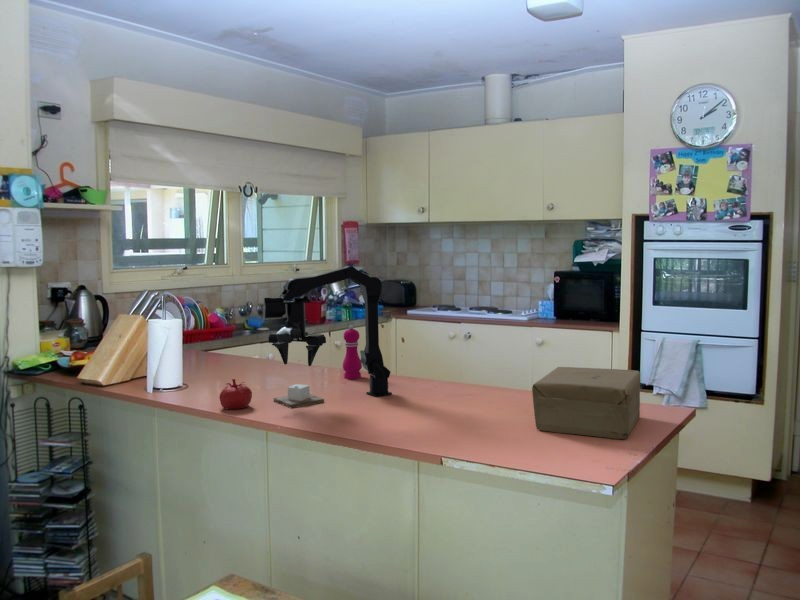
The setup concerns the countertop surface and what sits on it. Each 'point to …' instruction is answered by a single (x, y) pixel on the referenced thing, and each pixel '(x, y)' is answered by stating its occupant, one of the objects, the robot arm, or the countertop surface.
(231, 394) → the red tomato
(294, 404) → the post stand
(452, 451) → the countertop surface
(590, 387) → the paper package
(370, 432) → the countertop surface
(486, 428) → the countertop surface
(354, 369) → the pepper mill
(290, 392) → the white cube
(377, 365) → the robot arm
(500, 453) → the countertop surface
